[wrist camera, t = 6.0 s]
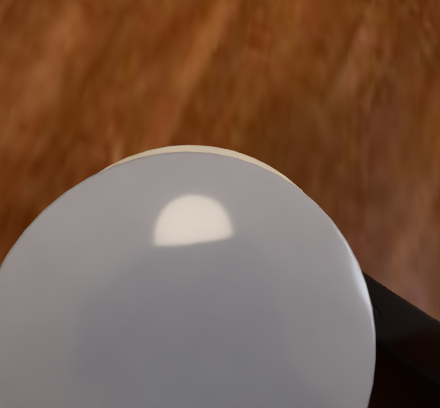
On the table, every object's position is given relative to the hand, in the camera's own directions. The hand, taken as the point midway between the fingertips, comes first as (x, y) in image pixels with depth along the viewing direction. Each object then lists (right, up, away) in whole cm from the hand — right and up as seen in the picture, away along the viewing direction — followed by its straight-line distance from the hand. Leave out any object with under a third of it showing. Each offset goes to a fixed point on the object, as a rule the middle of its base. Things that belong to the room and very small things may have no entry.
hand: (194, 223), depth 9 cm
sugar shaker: (0, -2, +5) cm, 5 cm away
